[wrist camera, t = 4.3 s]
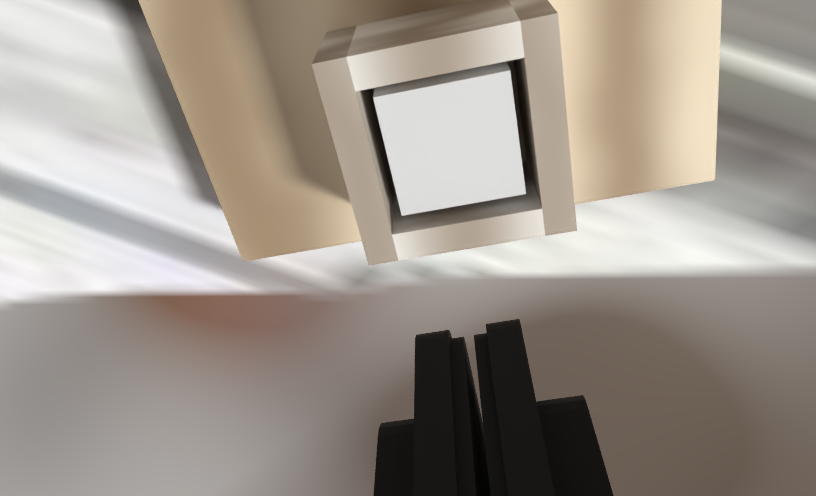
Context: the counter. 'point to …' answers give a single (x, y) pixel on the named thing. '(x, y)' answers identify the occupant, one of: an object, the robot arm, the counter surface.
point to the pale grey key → (451, 138)
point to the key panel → (424, 57)
